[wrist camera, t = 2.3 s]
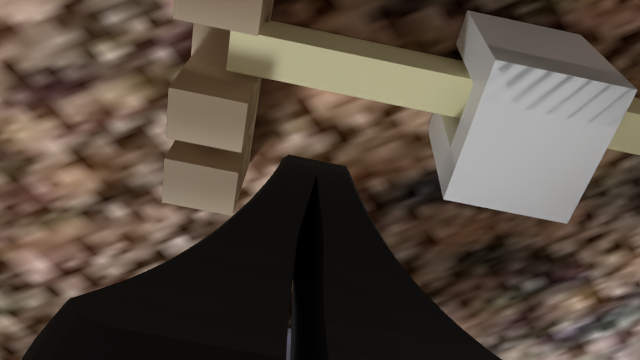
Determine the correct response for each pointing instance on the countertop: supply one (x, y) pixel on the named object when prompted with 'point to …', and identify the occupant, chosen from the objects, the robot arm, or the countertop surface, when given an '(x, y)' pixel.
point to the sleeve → (528, 119)
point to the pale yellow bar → (373, 72)
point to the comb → (212, 108)
